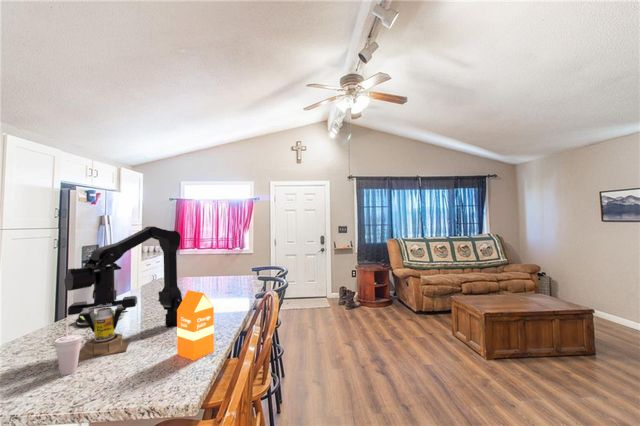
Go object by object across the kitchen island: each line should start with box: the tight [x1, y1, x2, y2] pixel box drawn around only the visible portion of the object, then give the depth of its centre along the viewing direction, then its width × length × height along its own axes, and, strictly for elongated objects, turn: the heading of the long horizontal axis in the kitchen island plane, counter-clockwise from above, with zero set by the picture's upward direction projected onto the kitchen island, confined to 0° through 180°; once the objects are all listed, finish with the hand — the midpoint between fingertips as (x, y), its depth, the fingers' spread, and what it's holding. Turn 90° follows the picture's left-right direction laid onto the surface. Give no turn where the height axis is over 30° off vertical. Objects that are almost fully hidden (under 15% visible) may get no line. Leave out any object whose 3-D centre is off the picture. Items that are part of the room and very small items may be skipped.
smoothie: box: [53, 322, 84, 376], centre depth 86 cm, size 6×6×14 cm
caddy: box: [78, 332, 132, 361], centre depth 101 cm, size 14×12×4 cm
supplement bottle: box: [93, 307, 115, 342], centre depth 102 cm, size 6×6×10 cm
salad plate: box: [75, 309, 129, 328], centre depth 134 cm, size 19×18×5 cm
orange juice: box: [176, 289, 215, 361], centre depth 98 cm, size 8×9×20 cm
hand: (104, 330), depth 102 cm, fingers closed on supplement bottle, 6 cm apart
